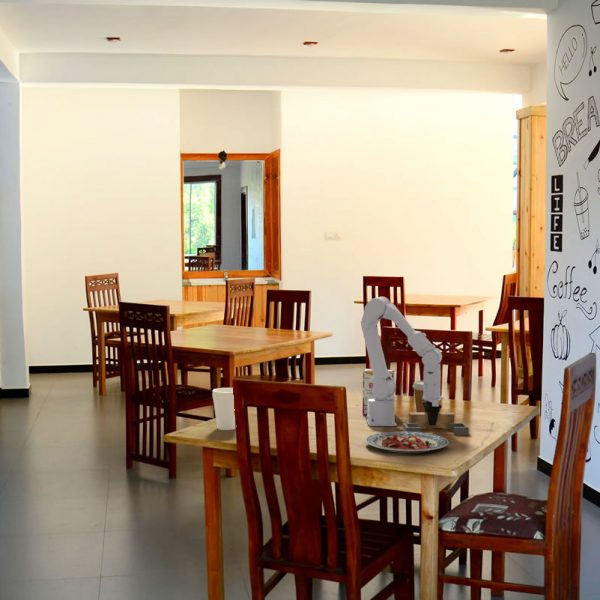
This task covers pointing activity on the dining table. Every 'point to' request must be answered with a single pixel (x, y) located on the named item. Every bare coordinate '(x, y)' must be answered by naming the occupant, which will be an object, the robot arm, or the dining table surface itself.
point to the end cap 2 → (459, 428)
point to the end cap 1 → (411, 427)
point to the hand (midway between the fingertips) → (431, 423)
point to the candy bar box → (369, 387)
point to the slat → (422, 420)
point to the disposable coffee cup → (419, 395)
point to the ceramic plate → (406, 441)
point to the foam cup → (224, 408)
